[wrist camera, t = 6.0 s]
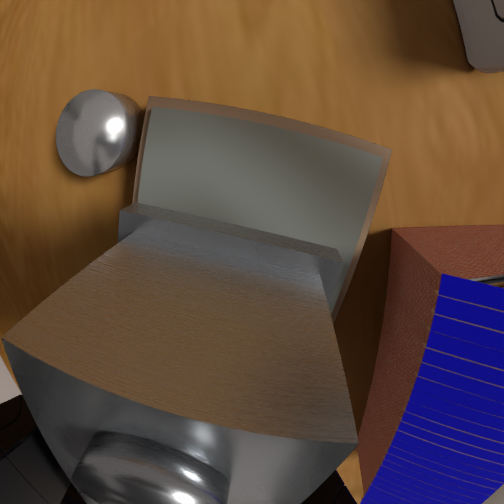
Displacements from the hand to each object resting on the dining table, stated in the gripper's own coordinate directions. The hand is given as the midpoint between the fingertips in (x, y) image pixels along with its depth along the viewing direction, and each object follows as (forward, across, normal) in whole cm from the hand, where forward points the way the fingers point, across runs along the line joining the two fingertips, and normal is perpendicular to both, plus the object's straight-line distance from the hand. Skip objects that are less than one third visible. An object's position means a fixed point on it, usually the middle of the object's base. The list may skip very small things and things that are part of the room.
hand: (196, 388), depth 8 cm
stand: (+9, 0, 0) cm, 9 cm away
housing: (+2, 0, 0) cm, 2 cm away
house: (+9, -16, +3) cm, 19 cm away
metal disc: (+9, +8, -6) cm, 14 cm away
